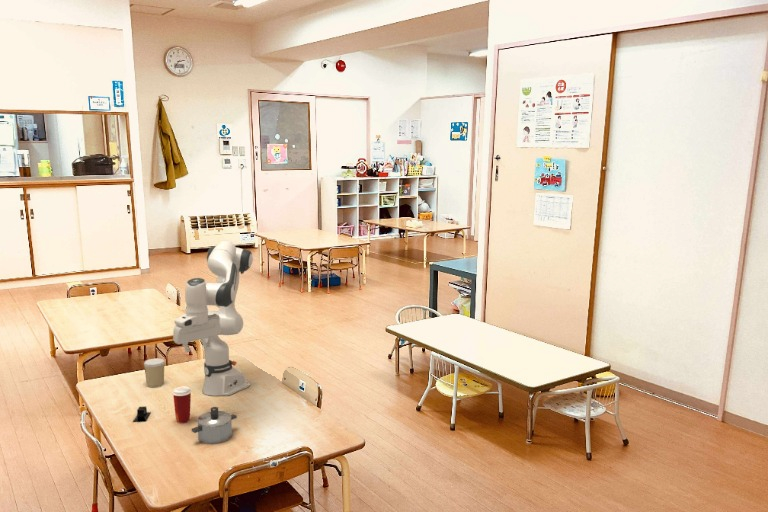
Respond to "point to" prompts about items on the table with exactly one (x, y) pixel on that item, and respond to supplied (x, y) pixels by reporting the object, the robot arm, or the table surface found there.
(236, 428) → the table surface
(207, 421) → the lid
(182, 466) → the table surface
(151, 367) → the coffee cup
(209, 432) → the pot
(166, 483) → the table surface
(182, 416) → the paper cup
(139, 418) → the black stepped block
